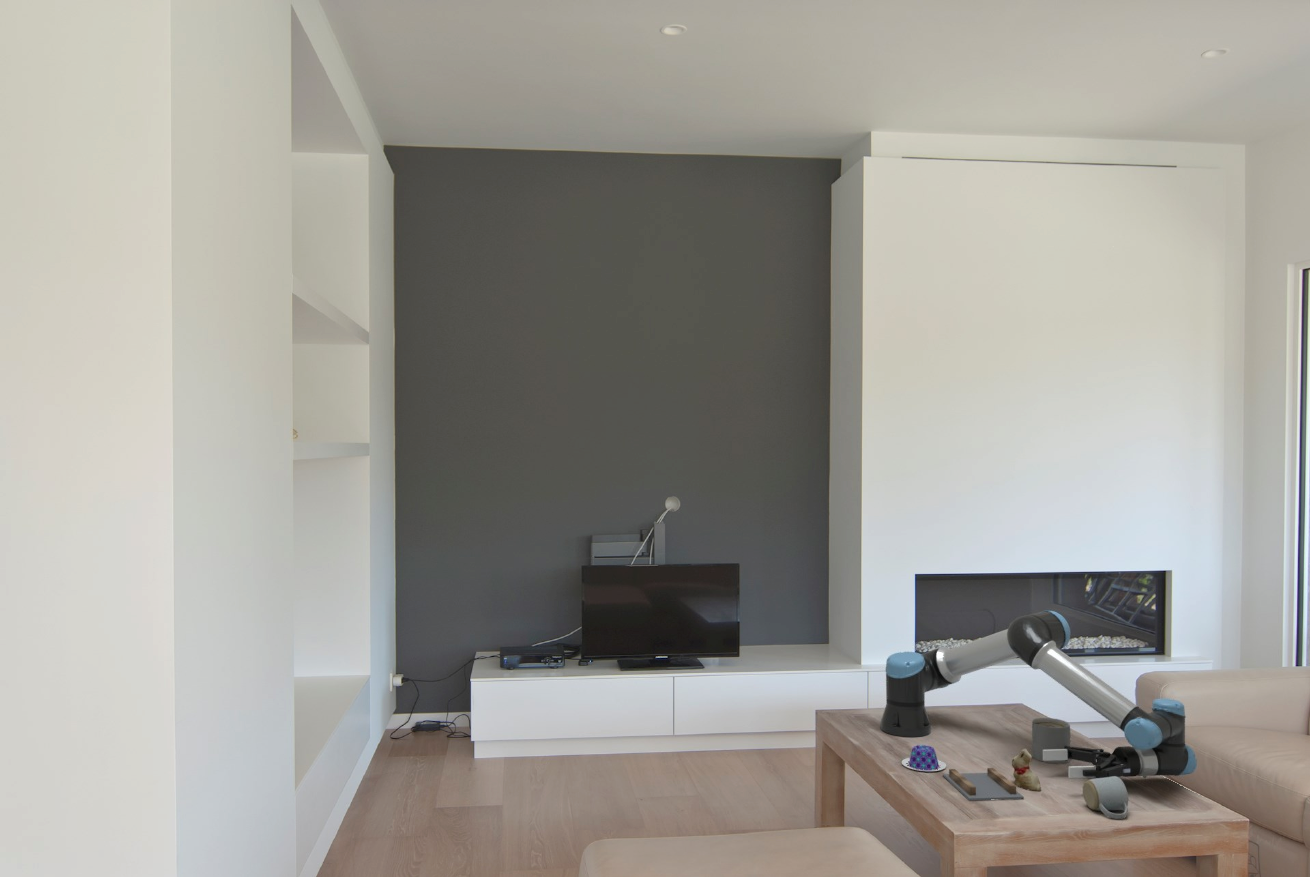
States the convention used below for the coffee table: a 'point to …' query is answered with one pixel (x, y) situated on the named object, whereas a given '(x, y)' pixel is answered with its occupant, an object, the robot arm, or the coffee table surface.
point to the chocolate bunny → (1025, 772)
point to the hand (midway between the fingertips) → (1055, 763)
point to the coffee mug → (1049, 737)
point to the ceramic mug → (1106, 795)
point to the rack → (990, 772)
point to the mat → (983, 787)
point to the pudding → (923, 759)
